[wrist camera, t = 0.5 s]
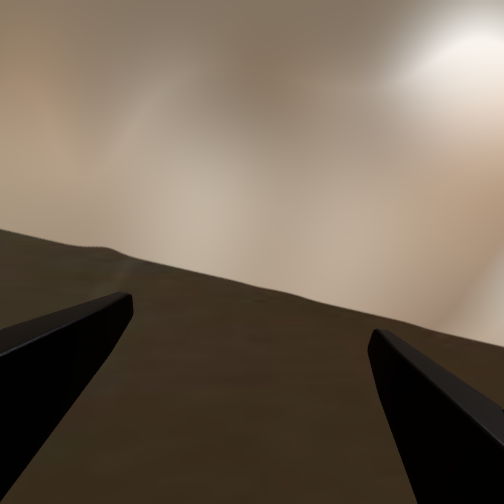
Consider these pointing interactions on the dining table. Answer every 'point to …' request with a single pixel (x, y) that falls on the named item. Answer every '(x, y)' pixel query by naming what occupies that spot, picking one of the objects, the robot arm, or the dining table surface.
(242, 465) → the dining table surface
